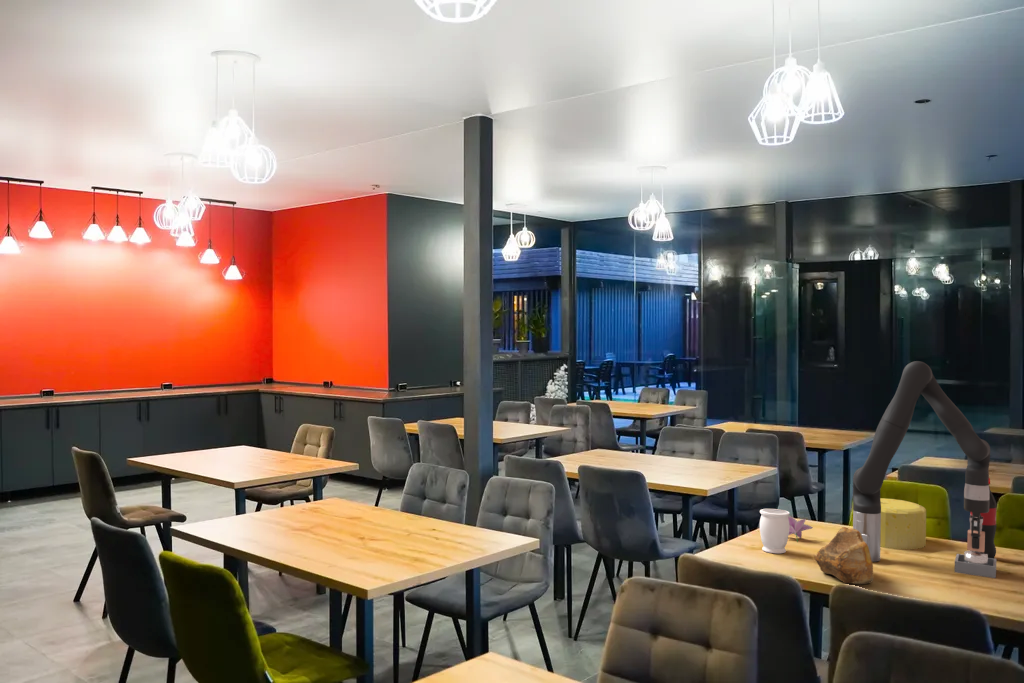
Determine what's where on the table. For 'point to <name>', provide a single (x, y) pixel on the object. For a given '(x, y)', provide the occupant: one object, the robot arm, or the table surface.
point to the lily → (797, 527)
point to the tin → (976, 557)
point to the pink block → (981, 541)
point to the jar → (774, 530)
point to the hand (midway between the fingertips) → (975, 546)
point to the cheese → (902, 524)
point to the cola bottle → (989, 526)
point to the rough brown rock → (847, 557)
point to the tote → (975, 567)
